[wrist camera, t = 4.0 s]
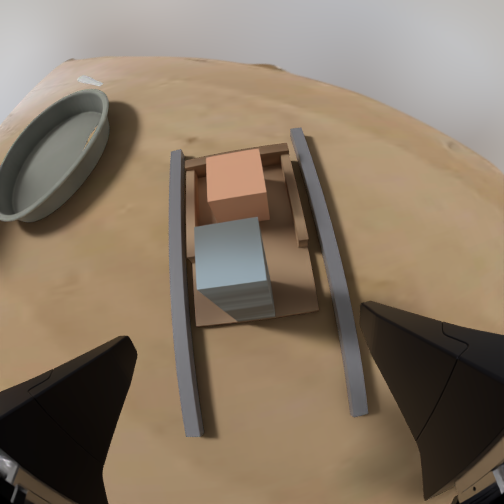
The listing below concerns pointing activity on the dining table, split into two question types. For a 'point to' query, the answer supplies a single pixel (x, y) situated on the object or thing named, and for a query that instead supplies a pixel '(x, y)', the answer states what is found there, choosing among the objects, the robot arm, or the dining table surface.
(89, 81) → the pale flat piece
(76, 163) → the cake pan
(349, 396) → the lane
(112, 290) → the dining table surface
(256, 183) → the cube
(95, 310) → the dining table surface
